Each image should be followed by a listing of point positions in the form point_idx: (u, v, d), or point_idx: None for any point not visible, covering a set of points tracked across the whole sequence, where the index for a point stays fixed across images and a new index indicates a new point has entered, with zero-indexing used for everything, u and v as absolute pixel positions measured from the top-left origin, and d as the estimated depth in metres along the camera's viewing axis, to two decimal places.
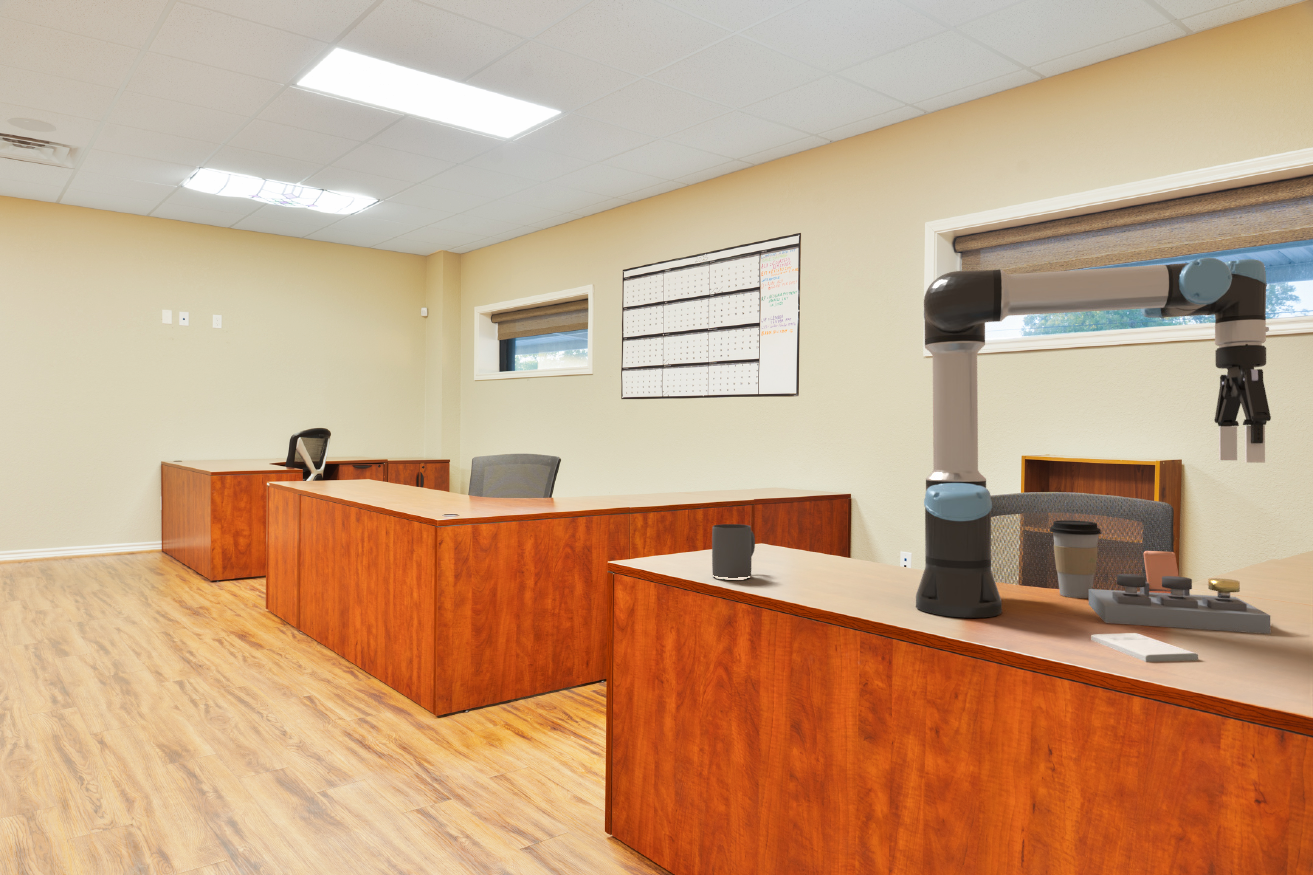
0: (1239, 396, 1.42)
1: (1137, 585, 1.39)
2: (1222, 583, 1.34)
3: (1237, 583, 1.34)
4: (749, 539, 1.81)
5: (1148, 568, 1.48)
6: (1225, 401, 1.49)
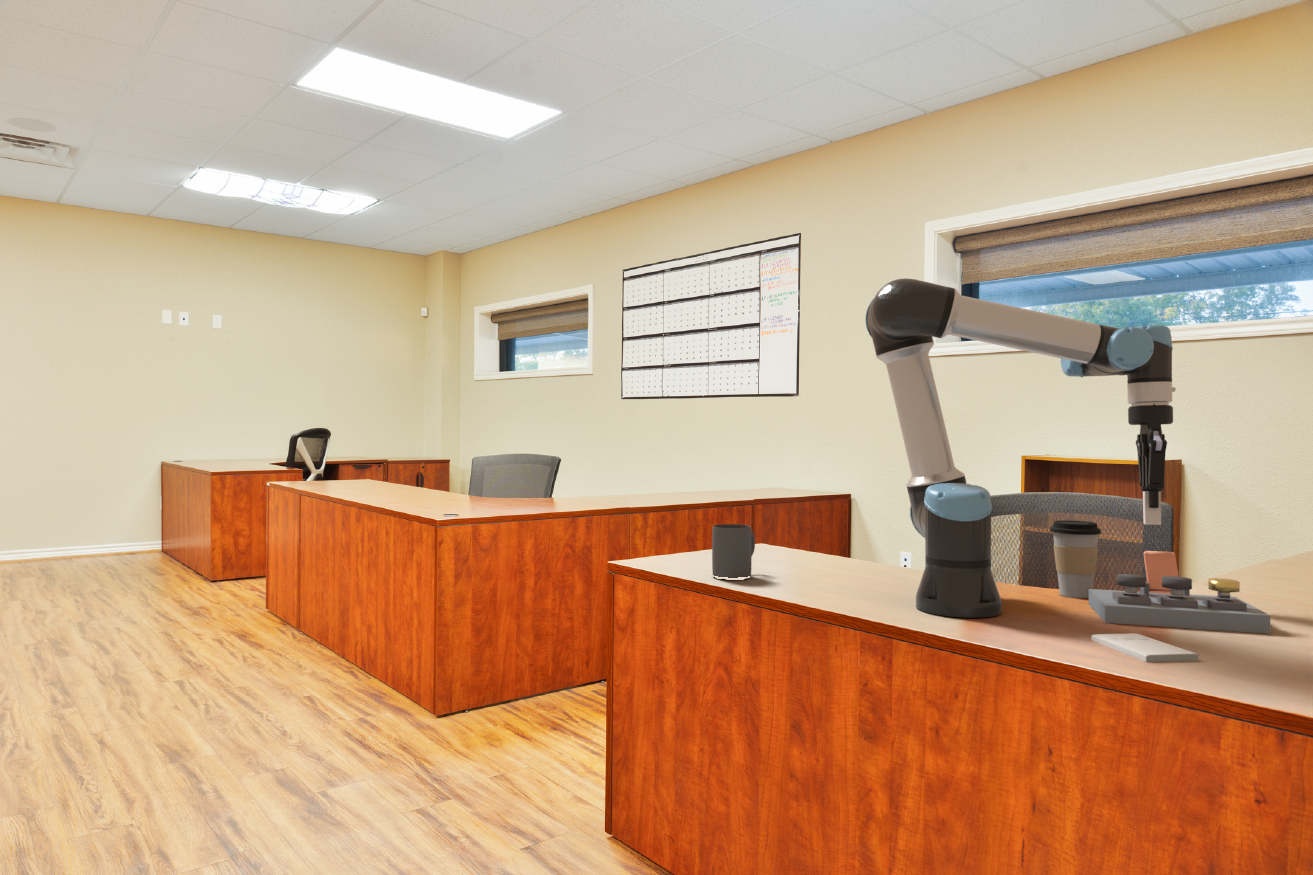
0: (1145, 456, 1.55)
1: (1137, 585, 1.39)
2: (1222, 583, 1.34)
3: (1237, 583, 1.34)
4: (749, 539, 1.81)
5: (1148, 568, 1.48)
6: (1142, 460, 1.57)
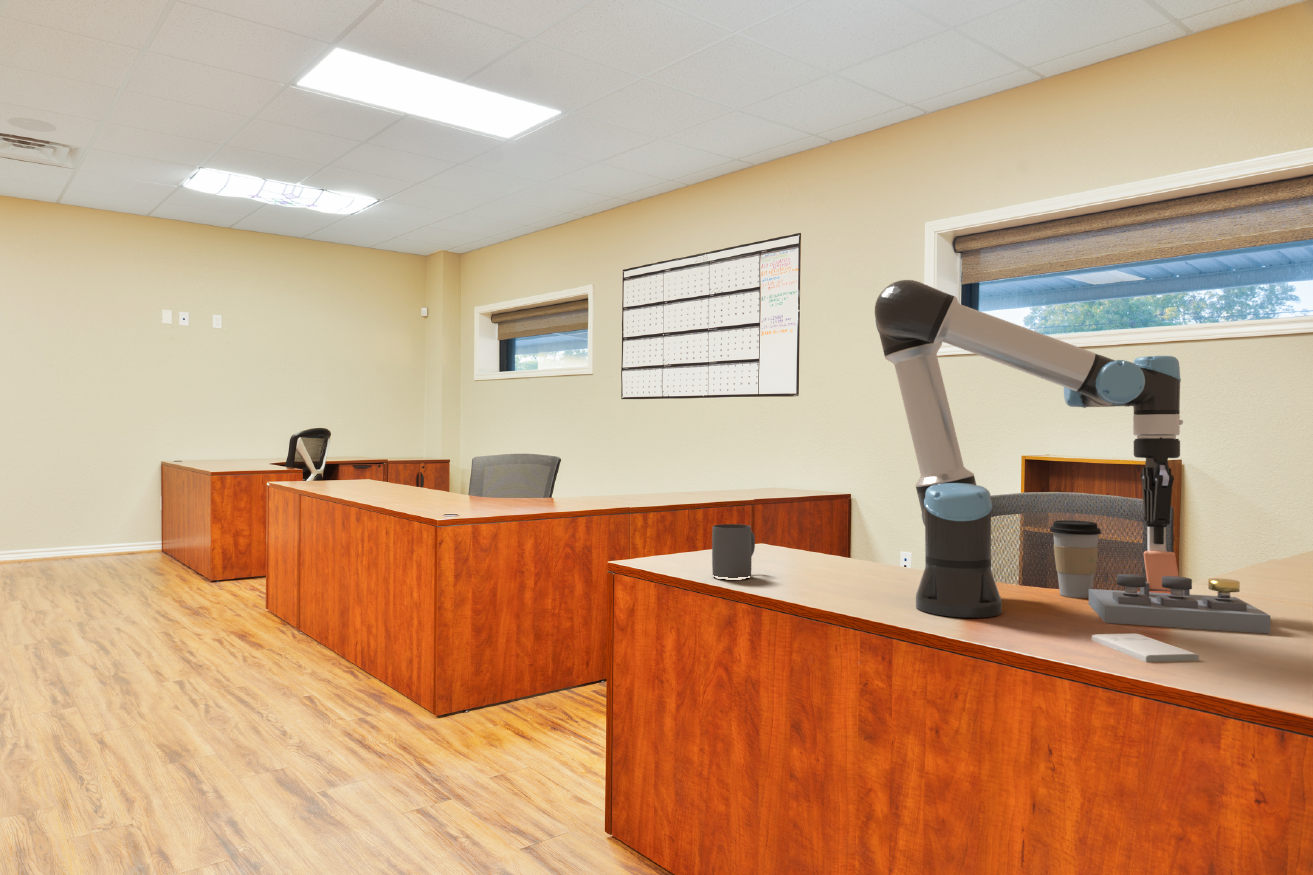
0: (1150, 491, 1.50)
1: (1137, 585, 1.39)
2: (1222, 583, 1.34)
3: (1237, 583, 1.34)
4: (749, 539, 1.81)
5: (1148, 568, 1.48)
6: (1147, 493, 1.52)
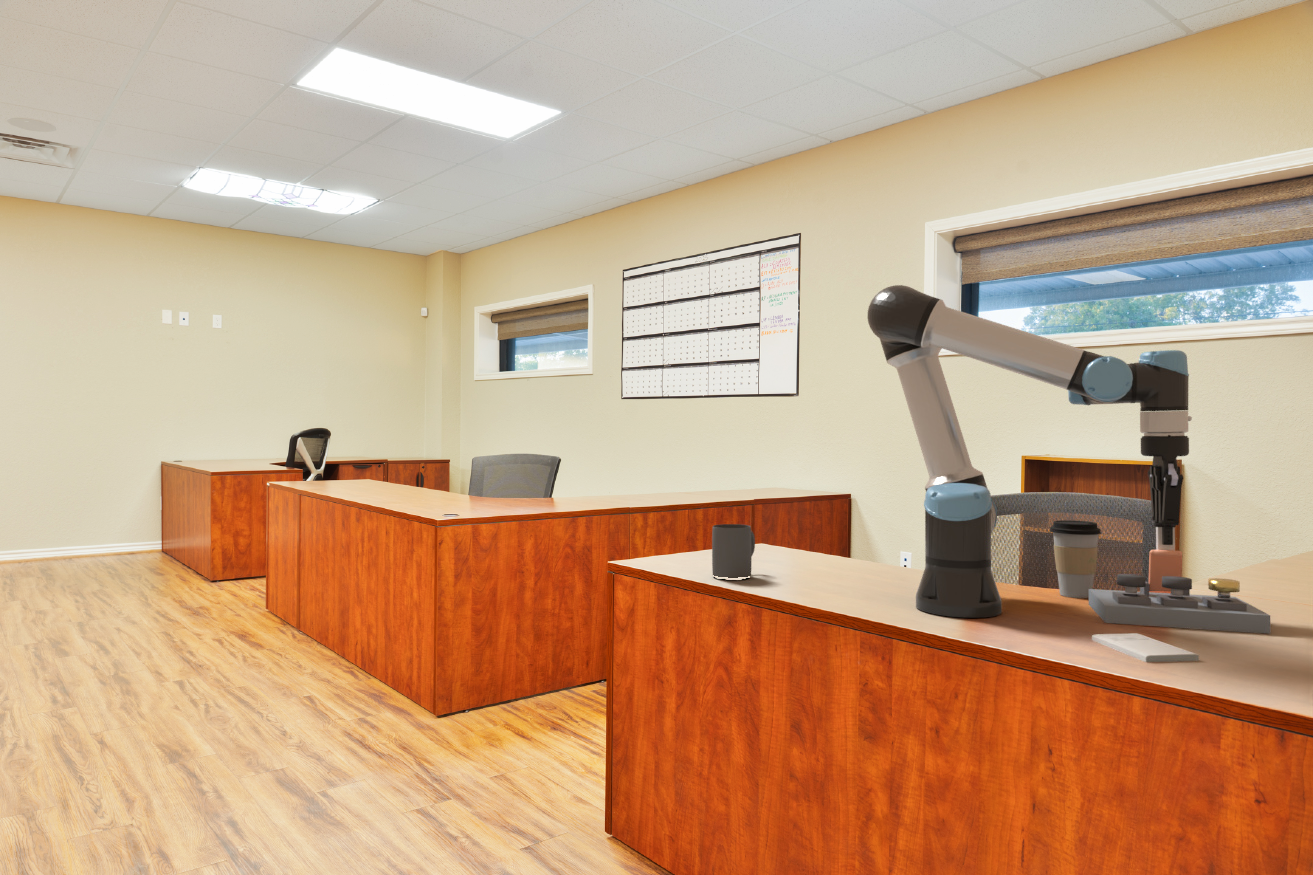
0: (1158, 490, 1.45)
1: (1137, 585, 1.39)
2: (1222, 583, 1.34)
3: (1237, 583, 1.34)
4: (749, 539, 1.81)
5: (1151, 569, 1.46)
6: (1156, 493, 1.47)
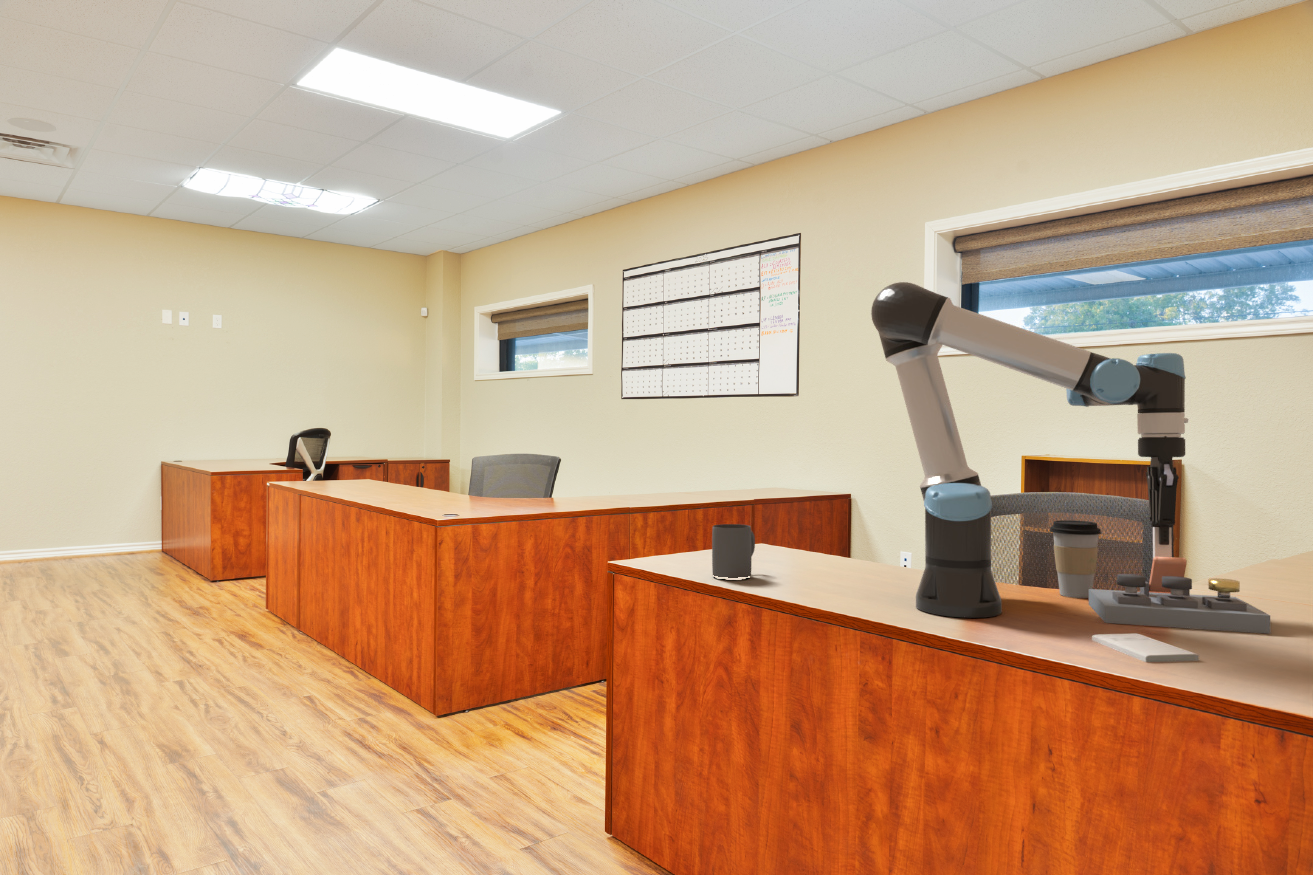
0: (1155, 490, 1.47)
1: (1137, 585, 1.39)
2: (1222, 583, 1.34)
3: (1237, 583, 1.34)
4: (749, 539, 1.81)
5: (1153, 575, 1.44)
6: (1153, 493, 1.49)
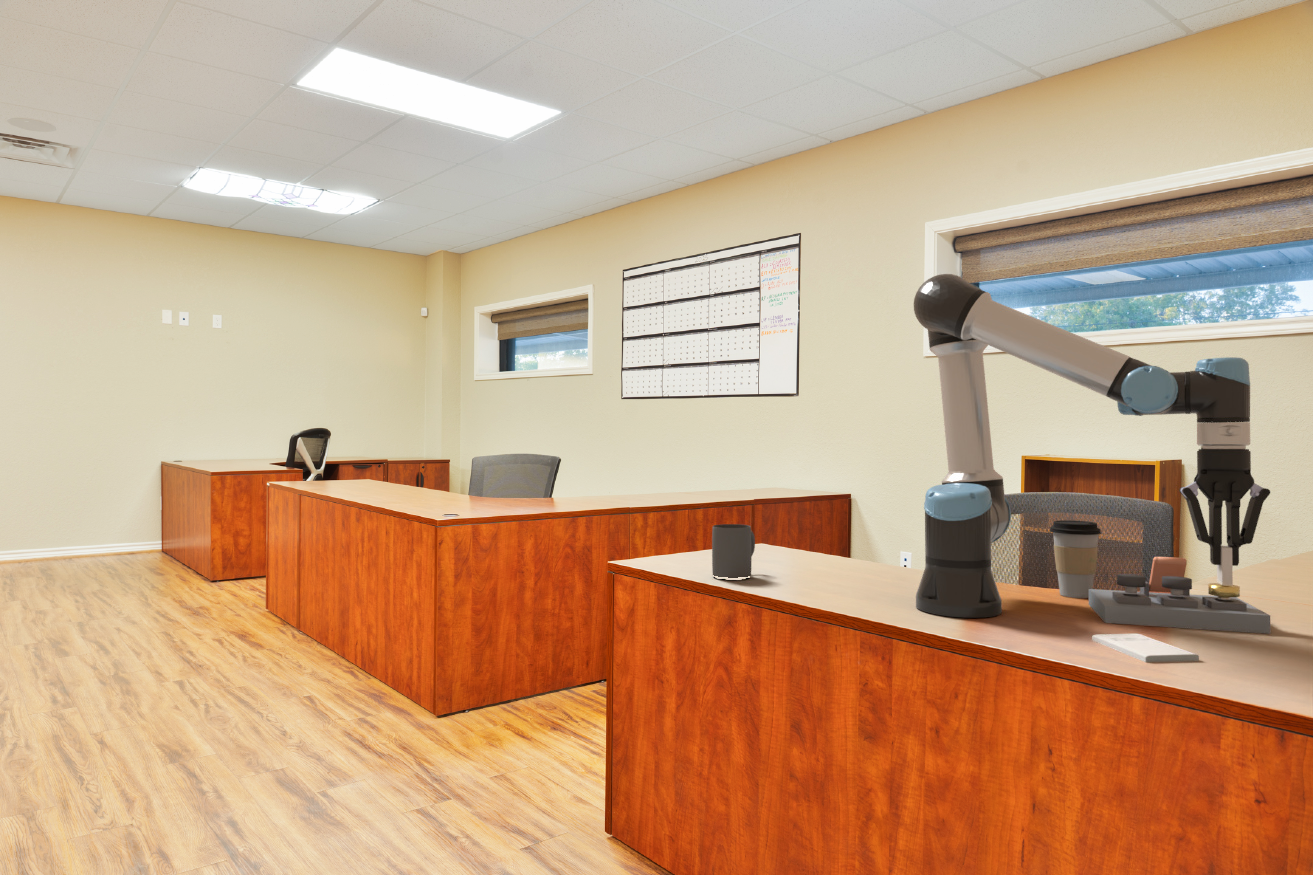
0: None
1: (1137, 585, 1.39)
2: (1222, 588, 1.34)
3: (1237, 588, 1.34)
4: (749, 539, 1.81)
5: (1153, 575, 1.44)
6: None
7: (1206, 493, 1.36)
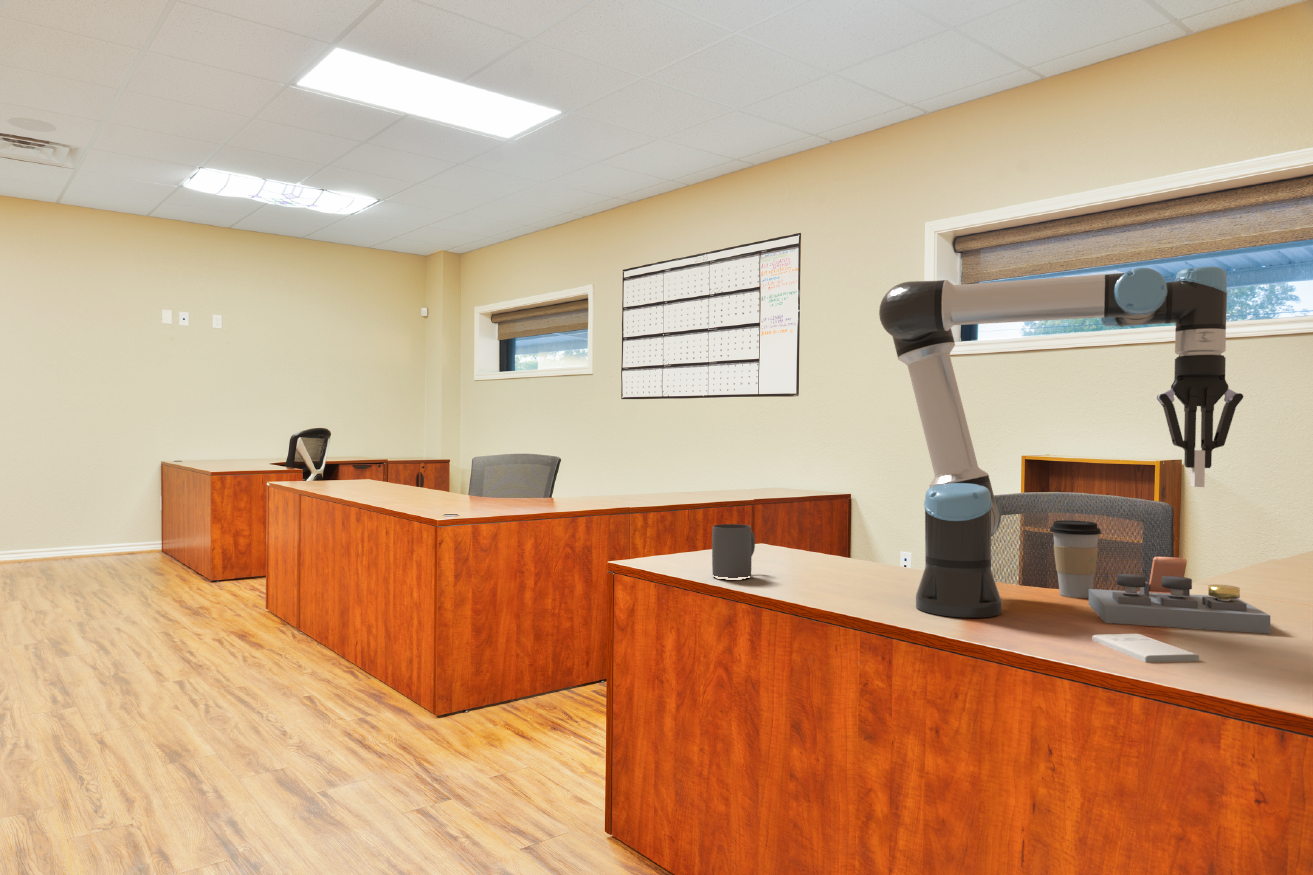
0: None
1: (1137, 585, 1.39)
2: (1222, 589, 1.34)
3: (1237, 589, 1.34)
4: (749, 539, 1.81)
5: (1153, 575, 1.44)
6: None
7: (1182, 399, 1.42)
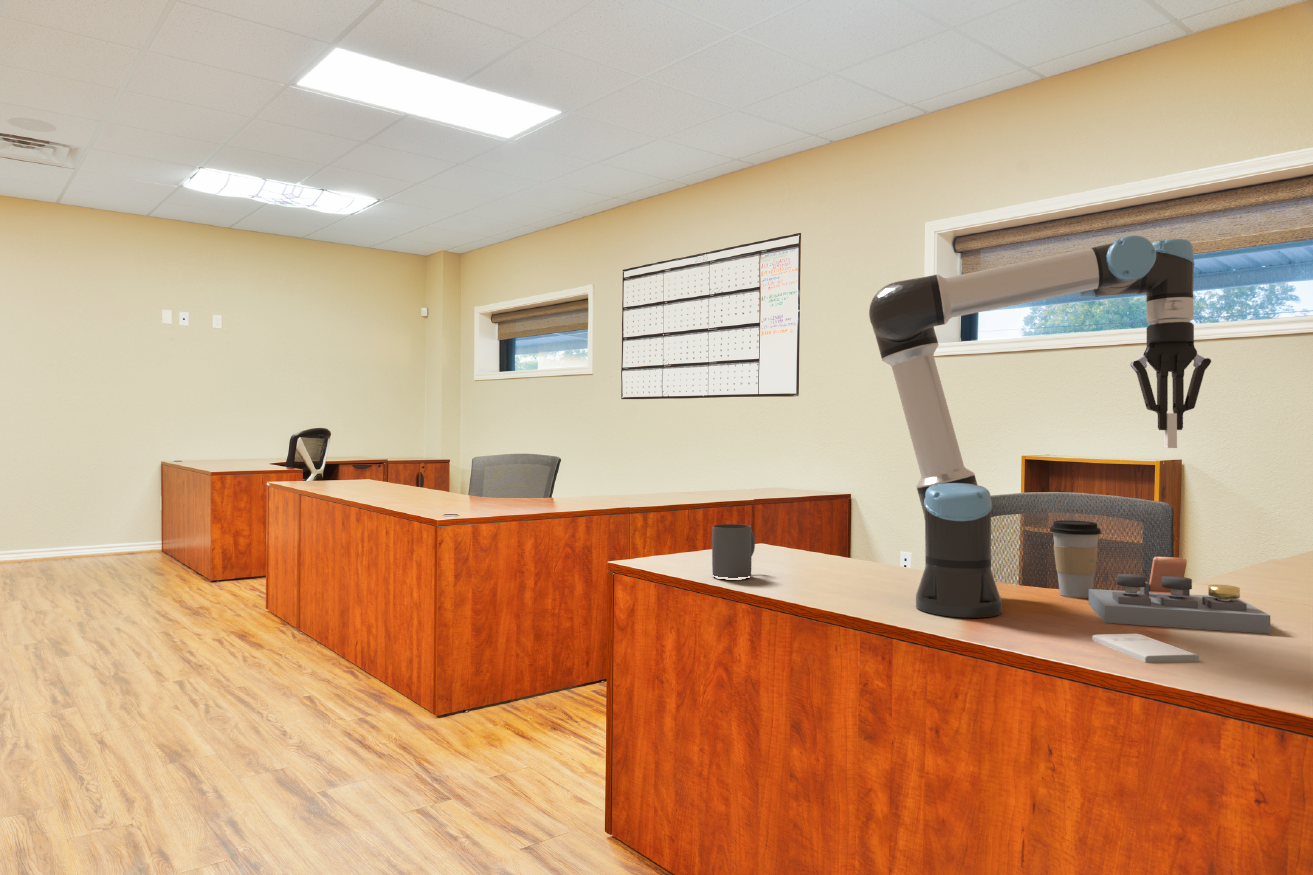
0: None
1: (1137, 585, 1.39)
2: (1222, 589, 1.34)
3: (1237, 589, 1.34)
4: (749, 539, 1.81)
5: (1153, 575, 1.44)
6: None
7: (1154, 365, 1.49)
